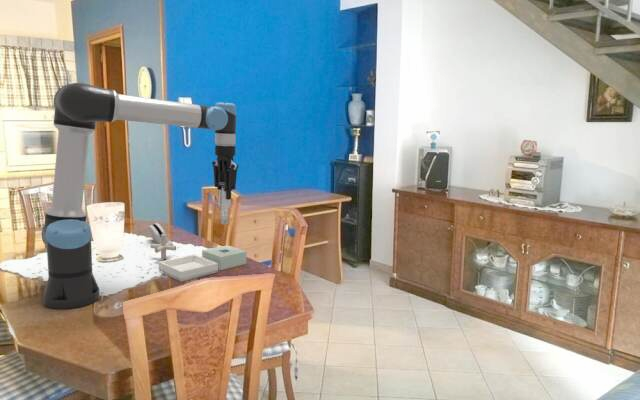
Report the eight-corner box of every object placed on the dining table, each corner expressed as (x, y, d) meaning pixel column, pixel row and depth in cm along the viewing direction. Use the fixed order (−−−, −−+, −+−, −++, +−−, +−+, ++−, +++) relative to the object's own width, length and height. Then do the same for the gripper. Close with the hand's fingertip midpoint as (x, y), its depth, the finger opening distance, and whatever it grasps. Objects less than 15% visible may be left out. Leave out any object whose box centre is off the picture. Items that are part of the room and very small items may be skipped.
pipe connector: (168, 264, 179) (168, 238, 178) (144, 261, 181) (144, 236, 180) (181, 257, 189) (181, 233, 187) (158, 254, 191) (158, 230, 189)
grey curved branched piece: (174, 247, 203) (166, 226, 200) (163, 252, 201) (155, 231, 197) (164, 238, 217) (156, 218, 213) (154, 242, 215) (146, 223, 211)
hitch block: (220, 270, 175) (220, 257, 175) (202, 262, 183) (202, 250, 182) (246, 263, 184) (246, 251, 183) (227, 257, 192) (227, 245, 191)
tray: (181, 281, 162) (181, 271, 161) (158, 271, 171) (158, 261, 171) (217, 272, 173) (217, 263, 172) (194, 263, 182) (194, 254, 182)
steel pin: (223, 225, 178) (223, 182, 175) (216, 223, 181) (217, 181, 178) (231, 223, 181) (232, 182, 178) (225, 222, 184) (226, 180, 181)
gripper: (246, 146, 174) (245, 209, 178) (221, 143, 184) (220, 203, 188) (229, 146, 168) (228, 211, 172) (204, 143, 178) (204, 204, 182)
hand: (224, 206), depth 180 cm, fingers closed on steel pin, 2 cm apart
